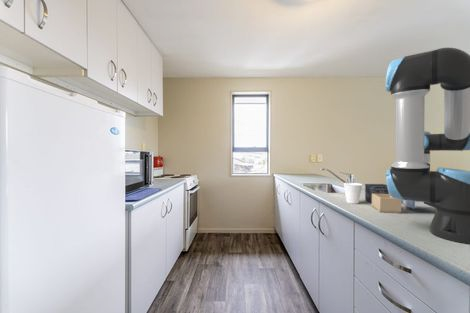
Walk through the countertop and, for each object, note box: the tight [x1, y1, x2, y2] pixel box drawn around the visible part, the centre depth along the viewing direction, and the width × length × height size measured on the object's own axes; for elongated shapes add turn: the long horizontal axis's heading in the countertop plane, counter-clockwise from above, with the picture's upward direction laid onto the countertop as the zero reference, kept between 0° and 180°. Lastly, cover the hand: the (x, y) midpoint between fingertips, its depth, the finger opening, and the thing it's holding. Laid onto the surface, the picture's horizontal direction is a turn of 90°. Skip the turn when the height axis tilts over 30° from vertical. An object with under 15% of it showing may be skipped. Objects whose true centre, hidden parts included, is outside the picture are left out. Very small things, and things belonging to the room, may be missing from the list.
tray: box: [371, 194, 403, 214], centre depth 115 cm, size 12×9×7 cm
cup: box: [342, 182, 363, 205], centre depth 130 cm, size 10×10×11 cm
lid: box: [402, 199, 437, 210], centre depth 114 cm, size 14×12×5 cm
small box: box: [364, 183, 389, 204], centre depth 133 cm, size 11×6×10 cm, turn 84°
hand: (419, 205), depth 114 cm, fingers closed on lid, 12 cm apart
